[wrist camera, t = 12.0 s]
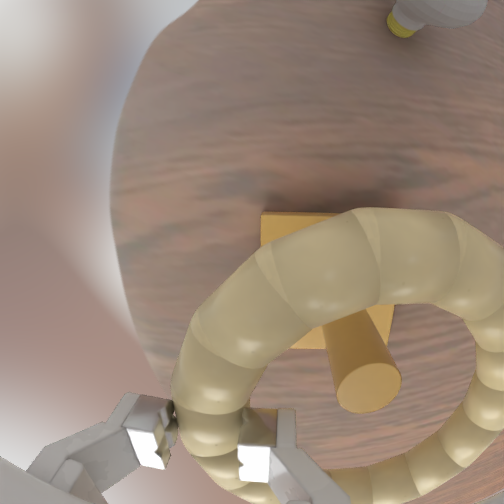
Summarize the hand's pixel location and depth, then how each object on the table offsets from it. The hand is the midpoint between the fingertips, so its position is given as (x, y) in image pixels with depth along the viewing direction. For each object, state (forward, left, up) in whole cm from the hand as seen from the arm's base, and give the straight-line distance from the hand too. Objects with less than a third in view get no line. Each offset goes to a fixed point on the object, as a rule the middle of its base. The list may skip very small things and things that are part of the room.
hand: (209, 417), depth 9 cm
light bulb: (-10, -18, -13) cm, 25 cm away
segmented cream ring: (-5, 0, 0) cm, 5 cm away
